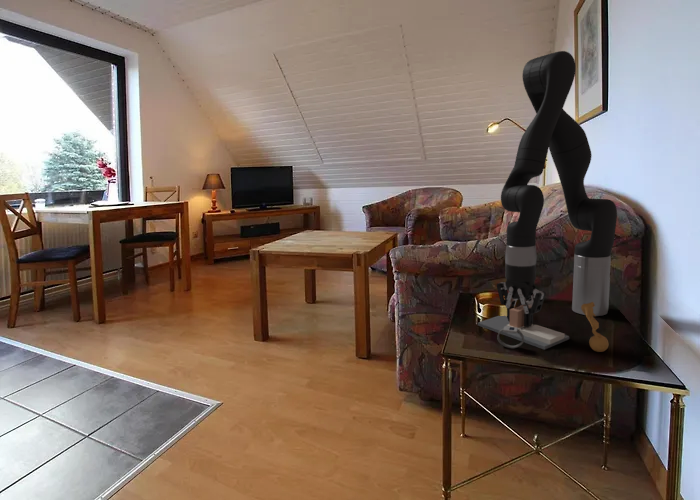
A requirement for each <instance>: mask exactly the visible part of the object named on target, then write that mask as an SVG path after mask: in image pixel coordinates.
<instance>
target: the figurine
mask: <svg viewBox="0 0 700 500" xmlns="http://www.w3.org/2000/svg"><path fill="white" fill-rule="evenodd" d="M594 306H595V305H594V302H591V303H588V304H583V305H582V306H581V309H582V311H583V313H584V314H585V315H584V316H585V318H587V320H588V322H589V323H590V325H591V326H590V327H591V328H592V330H591V333H592V334H593V336H590V339H589V341H588V343H589V344H588V345H589V347H590V348H591V349H592V350H593V351H594V352H597V353H603V352H605V351H606V350H607V349H608V348H609V340H608V339H607V337H606V336H604V335H602V334H601V333H599V332H598V331H597V330H598V329H599V328H600V325H599V324H600V323H599V321H597V320H596V317H597V316H595V314H594V313H593V307H594Z"/></svg>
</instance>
